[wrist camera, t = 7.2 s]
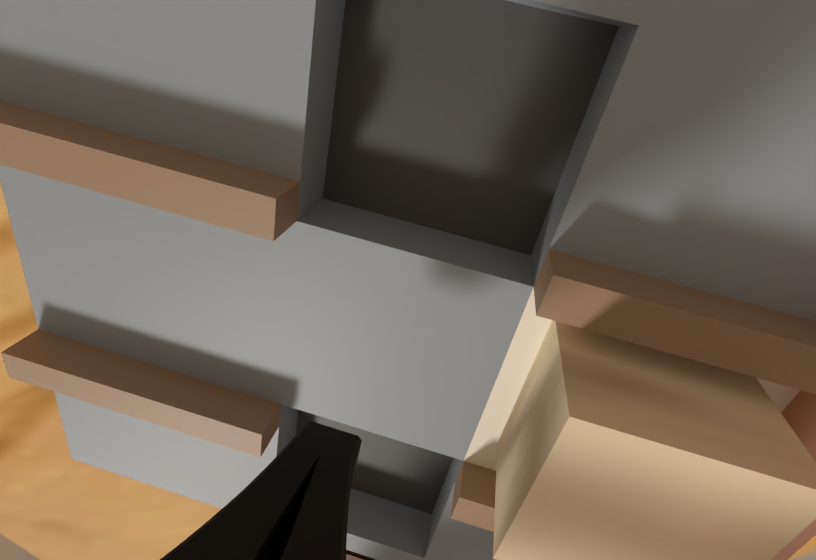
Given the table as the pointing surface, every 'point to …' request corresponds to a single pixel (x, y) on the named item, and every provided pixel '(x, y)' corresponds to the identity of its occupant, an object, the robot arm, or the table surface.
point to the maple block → (645, 459)
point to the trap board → (396, 225)
